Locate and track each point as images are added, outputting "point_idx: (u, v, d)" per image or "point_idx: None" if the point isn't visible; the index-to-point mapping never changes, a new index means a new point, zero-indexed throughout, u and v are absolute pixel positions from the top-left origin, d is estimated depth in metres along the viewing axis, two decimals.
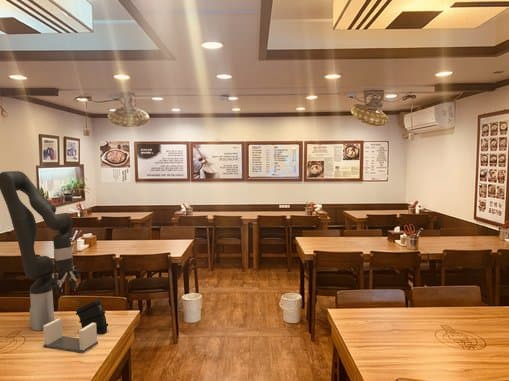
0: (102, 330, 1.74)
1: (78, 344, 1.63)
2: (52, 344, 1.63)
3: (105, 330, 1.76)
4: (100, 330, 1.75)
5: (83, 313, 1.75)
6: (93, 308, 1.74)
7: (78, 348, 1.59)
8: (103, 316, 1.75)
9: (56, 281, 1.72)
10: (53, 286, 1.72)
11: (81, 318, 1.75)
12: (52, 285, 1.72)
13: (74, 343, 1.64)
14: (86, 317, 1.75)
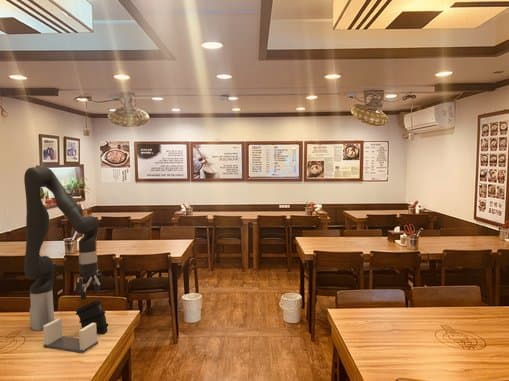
0: (102, 330, 1.74)
1: (78, 344, 1.63)
2: (52, 344, 1.63)
3: (105, 330, 1.76)
4: (100, 330, 1.75)
5: (83, 313, 1.75)
6: (93, 308, 1.74)
7: (78, 348, 1.59)
8: (103, 316, 1.75)
9: (81, 285, 1.69)
10: (78, 290, 1.69)
11: (81, 318, 1.75)
12: (77, 289, 1.69)
13: (74, 343, 1.64)
14: (86, 317, 1.75)
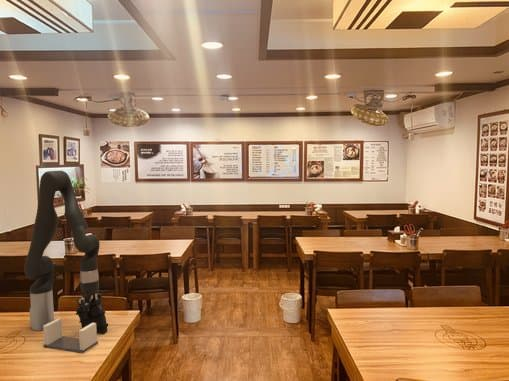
0: (102, 330, 1.74)
1: (78, 344, 1.63)
2: (52, 344, 1.63)
3: (105, 330, 1.76)
4: (100, 330, 1.74)
5: (83, 313, 1.75)
6: (93, 308, 1.74)
7: (78, 348, 1.59)
8: (103, 316, 1.75)
9: (84, 306, 1.70)
10: (82, 310, 1.71)
11: (81, 318, 1.75)
12: (81, 309, 1.71)
13: (74, 343, 1.64)
14: None
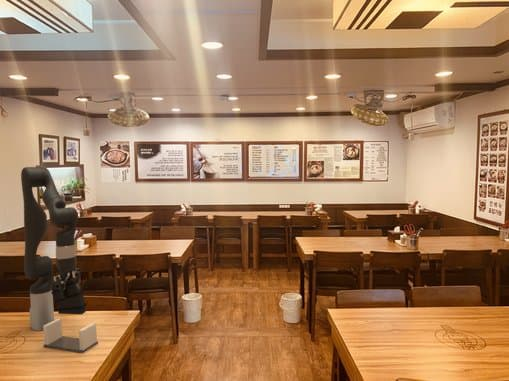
0: (80, 310, 1.61)
1: (78, 344, 1.63)
2: (52, 344, 1.63)
3: (83, 310, 1.63)
4: (78, 310, 1.61)
5: (59, 292, 1.62)
6: (70, 286, 1.61)
7: (78, 348, 1.59)
8: (81, 295, 1.62)
9: (60, 284, 1.57)
10: (57, 288, 1.58)
11: (57, 297, 1.62)
12: (56, 287, 1.58)
13: (74, 343, 1.64)
14: None
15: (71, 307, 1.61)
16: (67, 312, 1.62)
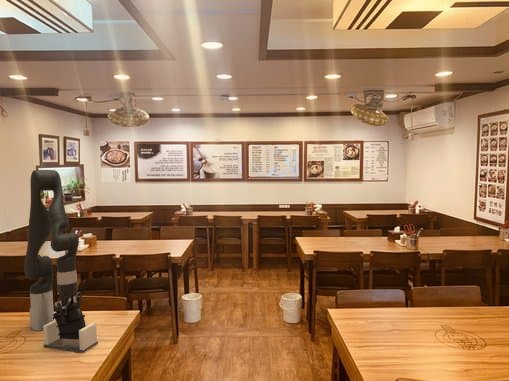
0: None
1: (78, 344, 1.63)
2: (52, 344, 1.63)
3: None
4: None
5: (61, 317, 1.62)
6: (71, 312, 1.62)
7: (78, 348, 1.59)
8: (82, 320, 1.63)
9: (61, 309, 1.58)
10: (59, 314, 1.58)
11: (58, 322, 1.63)
12: (58, 313, 1.59)
13: (74, 343, 1.64)
14: None
15: (72, 332, 1.62)
16: (68, 337, 1.63)
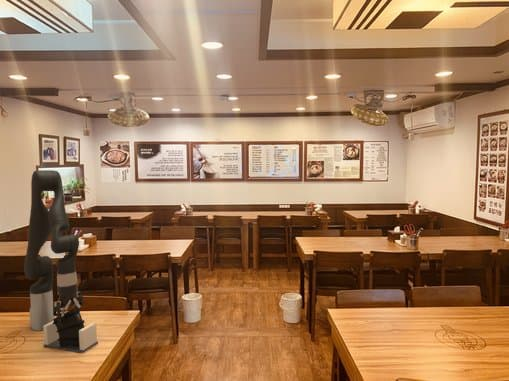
0: None
1: None
2: (52, 344, 1.63)
3: None
4: (78, 341, 1.62)
5: None
6: (71, 317, 1.62)
7: (78, 348, 1.59)
8: (82, 326, 1.63)
9: (58, 310, 1.57)
10: (55, 315, 1.57)
11: (58, 328, 1.63)
12: (54, 314, 1.57)
13: None
14: (63, 327, 1.62)
15: (72, 338, 1.62)
16: (68, 342, 1.63)
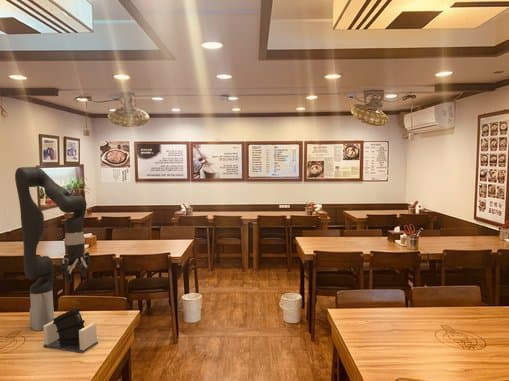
0: None
1: None
2: (52, 344, 1.63)
3: None
4: (78, 341, 1.62)
5: (60, 322, 1.63)
6: (71, 317, 1.62)
7: (78, 348, 1.59)
8: (82, 326, 1.63)
9: (66, 267, 1.62)
10: (63, 272, 1.62)
11: (58, 327, 1.63)
12: (62, 271, 1.62)
13: None
14: (64, 327, 1.63)
15: (72, 338, 1.62)
16: (68, 342, 1.63)
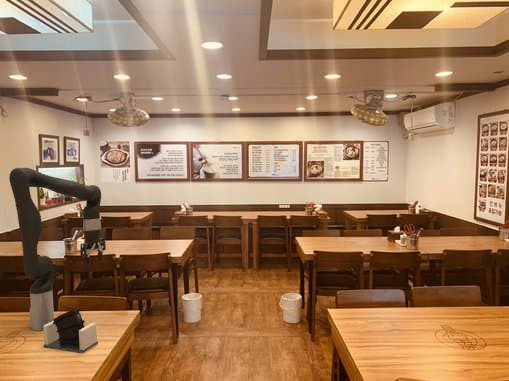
0: None
1: None
2: (52, 344, 1.63)
3: None
4: (78, 341, 1.62)
5: (60, 322, 1.63)
6: (71, 317, 1.62)
7: (78, 348, 1.59)
8: (82, 326, 1.63)
9: (85, 251, 1.75)
10: (82, 255, 1.75)
11: (58, 327, 1.63)
12: (81, 254, 1.75)
13: None
14: (64, 327, 1.63)
15: (72, 338, 1.62)
16: (68, 342, 1.63)
